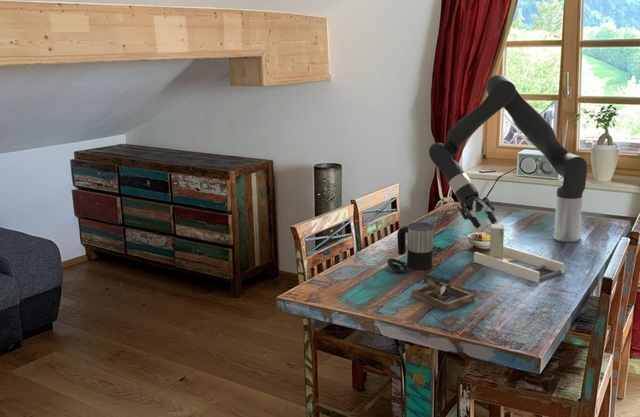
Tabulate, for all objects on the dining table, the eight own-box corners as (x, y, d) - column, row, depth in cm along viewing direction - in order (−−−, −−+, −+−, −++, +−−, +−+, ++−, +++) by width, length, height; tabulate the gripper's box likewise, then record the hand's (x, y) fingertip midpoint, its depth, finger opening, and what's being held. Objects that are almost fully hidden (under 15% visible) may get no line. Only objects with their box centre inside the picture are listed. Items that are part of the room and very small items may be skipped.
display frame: (438, 287, 219) (439, 281, 219) (474, 301, 207) (474, 294, 207) (411, 296, 213) (411, 290, 212) (446, 311, 201) (446, 304, 200)
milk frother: (436, 263, 242) (437, 223, 238) (423, 278, 228) (424, 235, 224) (398, 258, 247) (398, 219, 244) (383, 272, 234) (383, 231, 230)
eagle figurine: (451, 289, 214) (423, 281, 217) (453, 276, 209) (424, 268, 211) (445, 309, 210) (416, 301, 212) (447, 296, 204) (418, 288, 207)
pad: (497, 254, 249) (497, 253, 249) (514, 259, 242) (514, 258, 242) (476, 260, 243) (476, 259, 243) (494, 266, 236) (494, 265, 236)
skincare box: (503, 262, 239) (504, 228, 236) (490, 261, 240) (491, 228, 237) (501, 256, 245) (503, 223, 242) (489, 255, 246) (490, 223, 243)
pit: (543, 268, 233) (543, 265, 233) (560, 274, 227) (561, 270, 227) (522, 275, 227) (522, 272, 226) (540, 281, 221) (540, 278, 221)
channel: (499, 253, 250) (500, 244, 249) (563, 273, 228) (564, 263, 227) (473, 261, 242) (474, 252, 241) (537, 282, 220) (537, 272, 220)
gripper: (455, 185, 242) (479, 223, 236) (482, 179, 250) (506, 215, 244) (444, 197, 248) (467, 234, 242) (471, 191, 256) (494, 226, 250)
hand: (486, 224), depth 243 cm, fingers open, 8 cm apart
